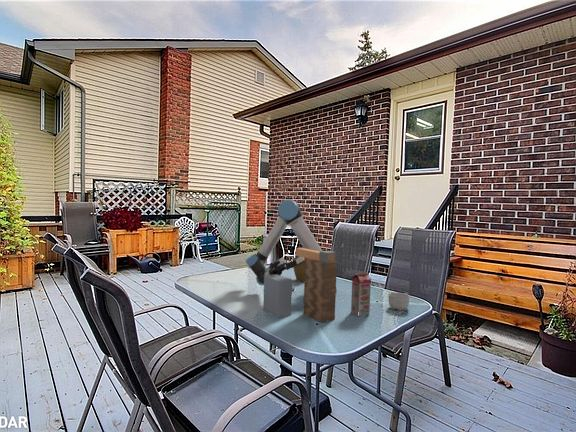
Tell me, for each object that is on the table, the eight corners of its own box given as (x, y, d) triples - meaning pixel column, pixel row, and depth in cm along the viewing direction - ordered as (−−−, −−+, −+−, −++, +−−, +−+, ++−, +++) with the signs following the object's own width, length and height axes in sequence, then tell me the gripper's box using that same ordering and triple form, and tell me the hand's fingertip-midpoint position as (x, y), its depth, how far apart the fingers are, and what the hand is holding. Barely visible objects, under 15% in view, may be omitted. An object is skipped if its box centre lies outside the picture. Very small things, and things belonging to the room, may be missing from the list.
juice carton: (350, 312, 172) (352, 270, 171) (361, 311, 174) (363, 269, 173) (358, 316, 166) (360, 273, 165) (369, 315, 168) (371, 272, 167)
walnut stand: (303, 314, 167) (305, 259, 166) (315, 311, 172) (317, 257, 170) (322, 322, 156) (325, 263, 155) (334, 319, 161) (336, 262, 160)
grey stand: (263, 310, 170) (264, 275, 170) (275, 307, 175) (276, 274, 174) (278, 318, 160) (279, 281, 159) (291, 314, 165) (292, 279, 164)
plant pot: (312, 283, 231) (313, 260, 231) (291, 282, 231) (292, 260, 231) (311, 278, 246) (312, 257, 245) (291, 277, 246) (292, 256, 246)
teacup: (398, 313, 174) (399, 298, 173) (383, 306, 183) (384, 292, 183) (417, 309, 180) (417, 295, 180) (401, 304, 190) (402, 290, 189)
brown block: (294, 256, 174) (294, 246, 174) (302, 255, 178) (303, 245, 178) (326, 263, 155) (326, 253, 155) (335, 262, 159) (335, 252, 159)
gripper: (292, 275, 200) (313, 262, 185) (257, 280, 184) (276, 267, 169) (288, 263, 202) (309, 250, 187) (253, 267, 187) (273, 253, 172)
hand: (293, 258), depth 178 cm, fingers open, 13 cm apart
